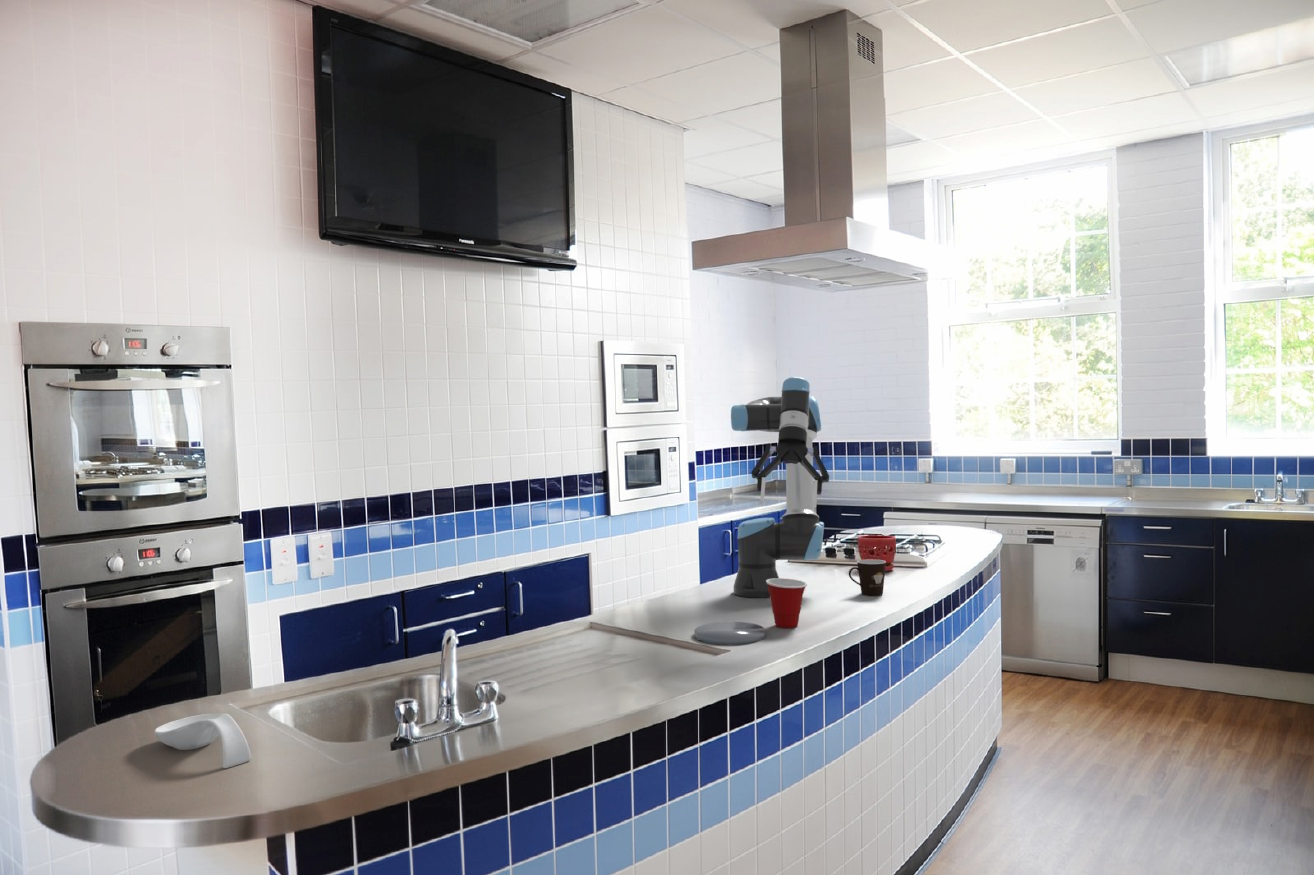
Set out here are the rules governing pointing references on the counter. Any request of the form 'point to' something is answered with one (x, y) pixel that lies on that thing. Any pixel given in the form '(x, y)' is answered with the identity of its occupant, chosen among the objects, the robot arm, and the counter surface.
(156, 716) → the counter surface
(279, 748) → the counter surface
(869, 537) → the plant pot
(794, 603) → the plastic cup
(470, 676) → the counter surface
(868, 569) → the coffee mug
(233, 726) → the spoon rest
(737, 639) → the gray round coaster
